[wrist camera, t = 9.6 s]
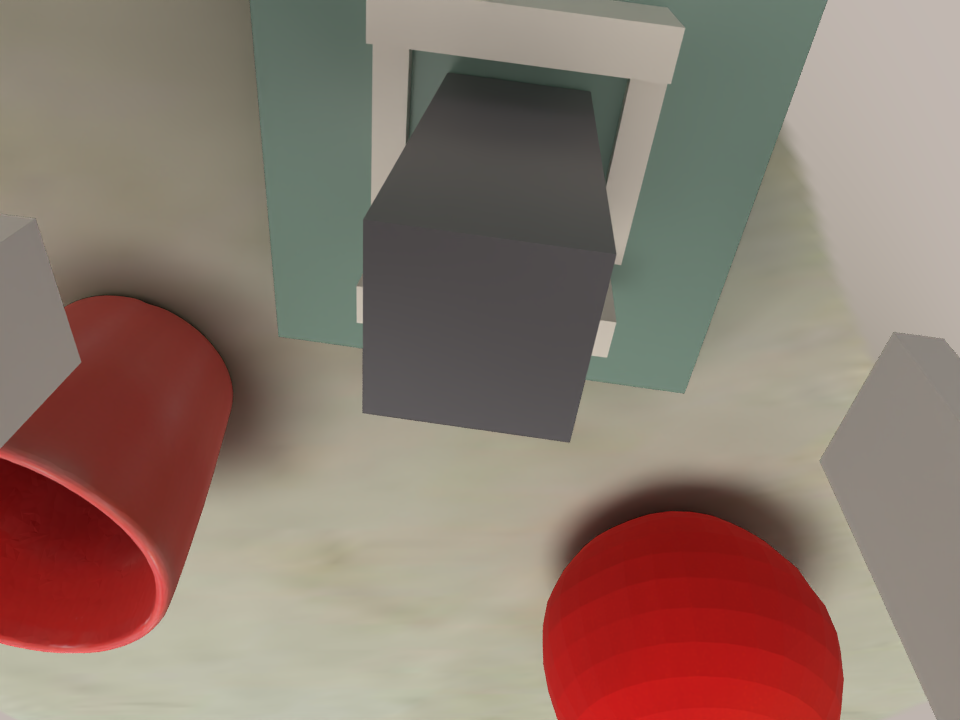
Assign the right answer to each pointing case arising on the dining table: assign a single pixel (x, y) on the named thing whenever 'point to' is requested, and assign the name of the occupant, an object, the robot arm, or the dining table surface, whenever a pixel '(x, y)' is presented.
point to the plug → (488, 261)
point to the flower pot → (109, 480)
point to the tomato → (688, 628)
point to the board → (543, 61)
